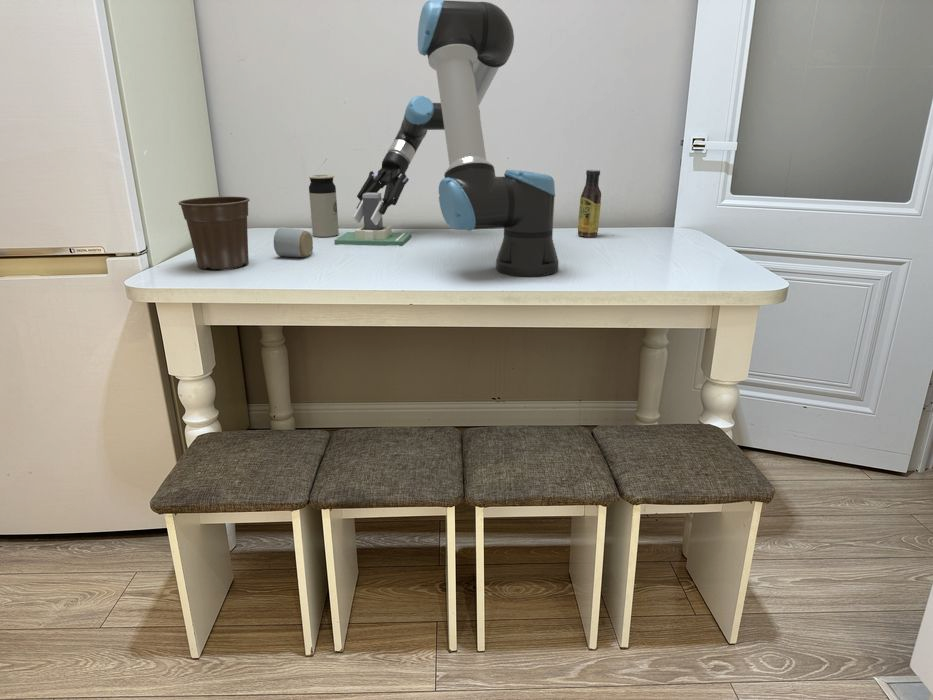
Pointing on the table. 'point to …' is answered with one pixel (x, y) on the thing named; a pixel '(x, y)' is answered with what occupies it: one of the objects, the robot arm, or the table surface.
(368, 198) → the plug
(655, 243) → the table surface
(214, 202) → the plant pot
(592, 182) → the sauce bottle
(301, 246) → the ceramic mug
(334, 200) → the travel mug
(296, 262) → the table surface
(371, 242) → the board
